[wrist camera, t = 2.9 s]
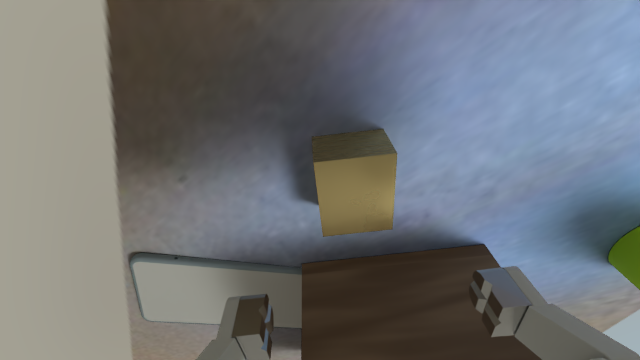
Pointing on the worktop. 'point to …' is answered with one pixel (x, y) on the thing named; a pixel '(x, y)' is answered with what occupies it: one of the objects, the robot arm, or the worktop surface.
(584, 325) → the robot arm
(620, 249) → the soap dispenser
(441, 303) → the box
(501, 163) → the worktop surface
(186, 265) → the smartphone
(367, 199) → the pale yellow block
